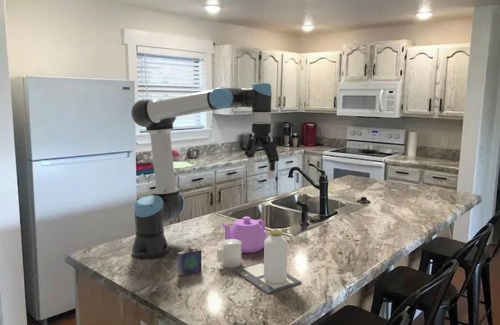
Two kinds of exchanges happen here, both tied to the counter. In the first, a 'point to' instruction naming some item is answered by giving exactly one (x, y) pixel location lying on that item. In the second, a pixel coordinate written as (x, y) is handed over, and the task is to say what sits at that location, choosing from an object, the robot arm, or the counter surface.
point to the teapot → (247, 234)
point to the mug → (230, 253)
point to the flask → (189, 261)
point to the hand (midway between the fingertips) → (260, 175)
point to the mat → (257, 278)
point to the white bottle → (275, 258)
